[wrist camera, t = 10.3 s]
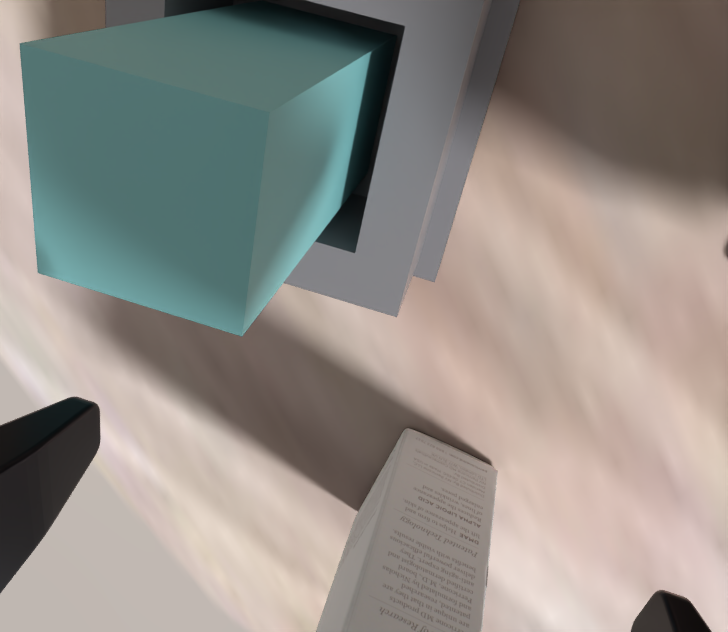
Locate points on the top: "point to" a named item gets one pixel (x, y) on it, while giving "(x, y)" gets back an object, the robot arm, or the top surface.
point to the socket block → (395, 138)
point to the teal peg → (198, 152)
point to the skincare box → (417, 545)
